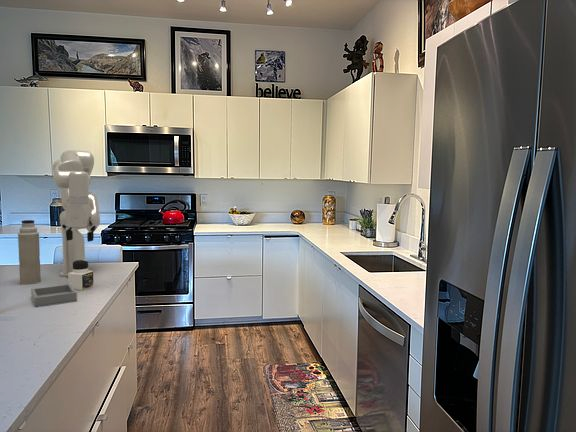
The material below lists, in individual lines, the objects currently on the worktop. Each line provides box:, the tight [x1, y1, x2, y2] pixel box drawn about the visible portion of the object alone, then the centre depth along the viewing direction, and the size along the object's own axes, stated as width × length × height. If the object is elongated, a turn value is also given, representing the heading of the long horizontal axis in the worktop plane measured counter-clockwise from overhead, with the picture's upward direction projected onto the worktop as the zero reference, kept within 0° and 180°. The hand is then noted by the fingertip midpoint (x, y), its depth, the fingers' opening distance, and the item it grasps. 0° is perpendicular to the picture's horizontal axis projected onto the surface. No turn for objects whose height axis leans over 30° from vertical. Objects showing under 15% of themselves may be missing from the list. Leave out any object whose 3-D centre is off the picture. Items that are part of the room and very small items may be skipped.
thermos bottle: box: [17, 219, 42, 285], centre depth 187 cm, size 8×8×28 cm
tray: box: [30, 283, 78, 308], centre depth 165 cm, size 14×14×4 cm
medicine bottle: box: [67, 259, 94, 291], centre depth 181 cm, size 7×7×12 cm
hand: (80, 240), depth 179 cm, fingers open, 9 cm apart
